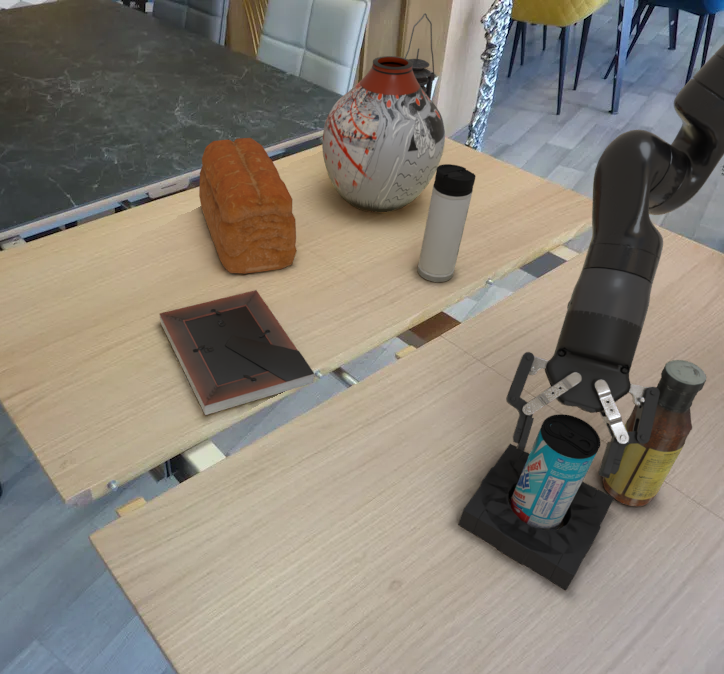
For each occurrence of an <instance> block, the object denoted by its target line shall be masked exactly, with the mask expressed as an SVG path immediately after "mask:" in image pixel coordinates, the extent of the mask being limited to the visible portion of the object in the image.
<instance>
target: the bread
mask: <svg viewBox="0 0 724 674" xmlns="http://www.w3.org/2000/svg"><path fill="white" fill-rule="evenodd" d="M274 163H275V162H274V161H273V159H272V158H270V156H269V154H268V152H267V151H266V150H265V148H264V146H263V145H262V144H260V143H259V142H258V141H256V140H255V139H254V138H252V137H242V138H239V137H238V138H236V139H235V140H234V141H232V140H230V139H219V140H213V141H211V142H210V143H209V144H208V145H206V147H205V148H204V151H203V155H202V156H201V164H202V165H201V167H200V171H199V188H198V189H199V191H198V192H199V193H198V194H199V195H198V196H199V201H200V207H201V210H202V213H203V216H204V219H205V222H206V225H207V228H208V231H209V234H210V238H211V239H212V242H213V245H214V248H215V250H216V253H217V257H218V259H219V261H220V262H221V264H222V266H223V267H224V269H225V270H226V271H227V272H228V273H231V274H245V275H246V274H253V273H262V272H268V271H276V270H282V269H285V268H287V267H289V266H291V265H293V262H294V259H295V257H296V254H297V251H298V250H297V246H296V241H297V226H296V225H297V223H296V217H295V215H294V213H293V197H292V195H291V193H290V192H289V190H288V188H287V185H286V183H285V182H284V180H283V179H282V178H281V176H280V173H279V171H278V168H277V167H276V165H275V164H274Z"/></svg>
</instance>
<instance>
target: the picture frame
mask: <svg viewBox="0 0 724 674" xmlns="http://www.w3.org/2000/svg"><path fill="white" fill-rule="evenodd" d="M158 314H159V321H160V322H159V323H160V325H161V327H162V329H163V331H164V333H165V335H166V338H167V339H168V341H169V343H170V346H171V348H172V349H173V352H174V354H175V356H176V357H177V360H178V362H179V364H180V366H181V369H182V370H183V371H184V374H185V377H186V379H187V381H188V383H189V384H190V387H191V389H192V391H193V393H194V395H195V397H196V399H197V402H198V403H199V406H200V407H201V409H202V411H203V414H204V415H205V416H207V415H210V414H214V413H217V412H220V411H221V412H222V411H225V410H228V409H231V408H234V407H238V406H241V405H245V404H247V403H251V402H254V401H258V400H261V399H264V398H268V397H271V396H274V395H277V394H281V393H284V392H288V391H291V390H294V389H297V388H298V389H299V388H302V387H304V386H308V385H311V384H314V379H315V372H314V370H313V369H312V367H311V366H310V365H309V364H308V362H307V360H306V359H305V357H304V356H303V355H302V352H301V351H300V350H298V348H297V347H296V346H295V344H294V343H293V341H292V340H291V338H290V336H289V335H288V334H287V332H286V331H285V329H284V328H283V327H282V325H281V323H280V322H279V320H277V318H276V316H275V315H274V313H273V312H272V311H271V309H270V308H269V306H268V305H267V303H266V302H265V300H264V299H263V297H262V296H261V294H260V293H259V292H258V290H257V289H255V290H251V291H247V292H243V293H238V294H235V295H230V296H226V297H222V298H218V299H213V300H210V301H205V302H201V303H197V304H193V305H188V306H184V307H181V308H176V309H172V310H168V311H164V312H161V313H158Z"/></svg>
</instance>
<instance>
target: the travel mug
mask: <svg viewBox="0 0 724 674" xmlns="http://www.w3.org/2000/svg"><path fill="white" fill-rule="evenodd" d="M434 176H435V177H434V183H433V185H432V191H431V196H430V200H429V201H430V202H429V206H428V210H427V211H428V212H427V218H426V222H425V226H424V227H425V228H424V233H423V239H422V243H421V249H420V254H419V258H418V259H419V260H418V264H417V273H418V275H419V276H420V277H421V278H422V279H425V280H426V281H428V282H433V283H444V282H447V281H449V280H451V279H452V278H453V276H454V273H455V269H456V265H457V259H458V255H459V251H460V247H461V244H462V243H461V242H462V238H463V235H464V230H465V225H466V221H467V217H468V212H469V210H470V209H469V208H470V204H471V200H472V194H473V191H474V185H475V180H476V174H475V173H474V172H472V171H470V170H468V169H467V168H466V167H464V166H461V165H457V164H450V163H449V164H448V163H445V164H444V163H443V164H439V166H438V167H437V170H436V172H435V175H434Z"/></svg>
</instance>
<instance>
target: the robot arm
mask: <svg viewBox="0 0 724 674" xmlns="http://www.w3.org/2000/svg"><path fill="white" fill-rule="evenodd" d="M673 108H674V111H675V113H676V115H677V116H678V117H679V119H680V120H681V123H682V124H681V127H680V129H679V130H678V132H677V134H676V136H675V138H674V139H673V141H672V142H671V144H670V143H669V142H667V141H666V140H664V139H663V138H661V137H660V136H658V135H657V134H655V133H653V132H651V131H649V130H644V129H632V130H628V131H625V132H623V133H621V134H619V135H618V136H616V137H615V138H614V139H612V141H610V142H609V144H608V145H607V146H606V147H605V148H604V150H603V152H602V153H601V155H600V156H599V159H598V161H597V163H596V166H595V169H594V174H593V181H592V201H591V202H592V205H591V207H592V208H591V226H592V227H591V228H592V231H591V239H590V241H589V245H588V248H587V252H586V255H585V258H584V262H583V265H582V269H581V272H580V274H579V277H578V279H577V281H576V283H575V286H574V287H573V290H572V293H571V296H570V299H569V301H568V303H567V306H566V309H567V310H566V312H565V316H564V319H563V323H562V326H561V330H560V333H559V337H558V340H557V343H556V347H555V350H554V353H553V355H552V356H551V358H550V359H549V360H547V359H545V358H541V357H539V356H535V355H534V354H533V352H531V351H526V352H524V353H523V354H522V356H521V358H520V360H519V363H518V365H517V368H516V370H515V372H514V376H513V379H512V381H511V384H510V387H509V389H508V392H507V395H506V398H505V401H506V403H507V404H508V405H509V406H511V407H512V408H513V409H516V411H517V412H518V418H517V422H516V424H515V428H514V432H513V433H512V442H513V443H516V447H517V448H516V449H519V450H522V451H525V450H526V447H527V444H528V439H529V437H530V434H531V433H530V432H531V430H532V426H533V422H534V419H535V418H534V417H533V415H534V414H535V413H536V412H538V411H539V410H541V409H543V407H545V406H547V405H548V404H550V403H551V402H553V401H554V400H556V401H558V402H559V403H560V405H563V406H567V407H574V408H575V407H576V408H578V409H580V410H582V411H584V412H587V413H590V414H592V413H593V414H595V413H599V415H600V417H601V419H602V421H603V423H604V425H605V426H606V429H607V432H608V434H609V435H610V441H607V443H606V446H605V448H604V449H605V450H604V453H603V455H602V456H603V457H602V460H601V463H600V467H599V469H598V470H599V471H598V476H600V477H602V478H603V477H605V478H609V476H610V473H612V474H616V473H617V472H618V470H619V467H620V463H621V460H622V456H623V453H624V450H625V447H626V446H627V445H629V444H639V443H642V444H645V443H648V442H649V440H650V436H651V431H652V427H653V422H654V418H655V413H656V409H657V404H658V400H659V395H660V391H659V389H658V388H656V387H657V386H643V385H639V384H636V383H635V384H634V383H632V382H631V380H630V373H631V372H630V371H631V368H632V365H633V361H634V358H635V355H636V351H637V347H638V345H639V342H640V338H641V334H642V331H643V327H644V325H645V321H646V318H647V314H648V310H649V307H650V301H651V295H652V294H651V293H652V289H653V284H654V281H655V278H656V274H657V270H658V267H659V263H660V260H661V257H662V253H663V247H664V238H663V236H662V235H663V234H662V233H661V232H660V231H659V230H658V228H657V227H656V226H655V225H654V223H653V221H652V220H651V217H650V215H651V216H662V215H666V214H669V213H672V212H674V211H676V210H678V209H680V208H681V207H683V206H684V205H686V204H688V202H690V201H691V199H693V198H694V197H695V196H696V195H697V194H698V193H699V192H700V191H701V189H702V188H703V187H704V186H705V184H706V182H707V181H708V180H709V178H710V176H711V175H712V173H713V172H714V170H715V168H717V166H718V164H719V163H720V161H721V159H723V157H724V43H723V44H722V45H721V46H720V47H719V48H718V50H716V51H715V52H714V54H713V55H711V57H710V58H709V59H707V61H706V62H705V63H704V64H703V65H702V66H701V67H700V68H699V70H697V72H696V73H695V74H694V75H693V76H692V78H690V79H689V80H688V81H687V83H686V84H684V86H683V87H682V88H681V89H680V91H679V92H678V93H677V94H676V96H675V97H674V101H673ZM539 370H544V373H545V376H546V378H547V380H548V383H549V385H550V386H549V387H548V388H546V389H545V390H543V391H541V393H538V395H536V396H535V397H533V398H532V399H530V400H529V401H526V400H525V399H524V398H522V397H521V395H522V394H523V392H524V391H523V390H524V389H525V385H526V382H527V379H528V377H529V376H534V375H536V374H537V373H538V372H539ZM628 394H630V395H631V397H632V401H631V402H632V403H633V405H634V406H635V405H636V406H638V408H637V413H636V417H635V422H634V426H633V431H632V432H627V431H626V429H625V424H624V422H623V418H622V417H623V416H622V415H621V413H620V411H619V408H618V407H617V404H616V402H617V401H619V400H620V399H622V398H623V397H625V396H627V395H628Z"/></svg>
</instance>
